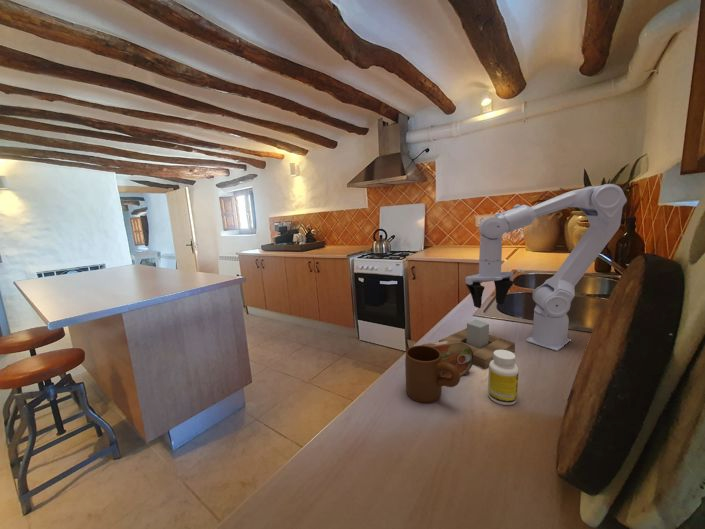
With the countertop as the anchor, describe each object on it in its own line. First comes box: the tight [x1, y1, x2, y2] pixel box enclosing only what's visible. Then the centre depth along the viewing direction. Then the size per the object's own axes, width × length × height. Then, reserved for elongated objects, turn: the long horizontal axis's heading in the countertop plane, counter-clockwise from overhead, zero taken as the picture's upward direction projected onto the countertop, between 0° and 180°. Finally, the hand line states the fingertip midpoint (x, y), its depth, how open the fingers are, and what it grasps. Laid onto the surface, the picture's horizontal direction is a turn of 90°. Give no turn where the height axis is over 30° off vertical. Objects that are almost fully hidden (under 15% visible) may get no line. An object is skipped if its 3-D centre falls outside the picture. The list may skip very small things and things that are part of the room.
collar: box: [438, 327, 516, 370], centre depth 80 cm, size 14×14×2 cm
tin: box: [422, 340, 474, 378], centre depth 68 cm, size 15×3×8 cm, turn 99°
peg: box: [466, 319, 490, 349], centre depth 79 cm, size 4×4×8 cm
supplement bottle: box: [487, 350, 520, 406], centre depth 59 cm, size 5×5×10 cm
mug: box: [404, 344, 461, 404], centre depth 61 cm, size 12×8×9 cm, turn 43°
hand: (488, 305), depth 85 cm, fingers open, 7 cm apart
